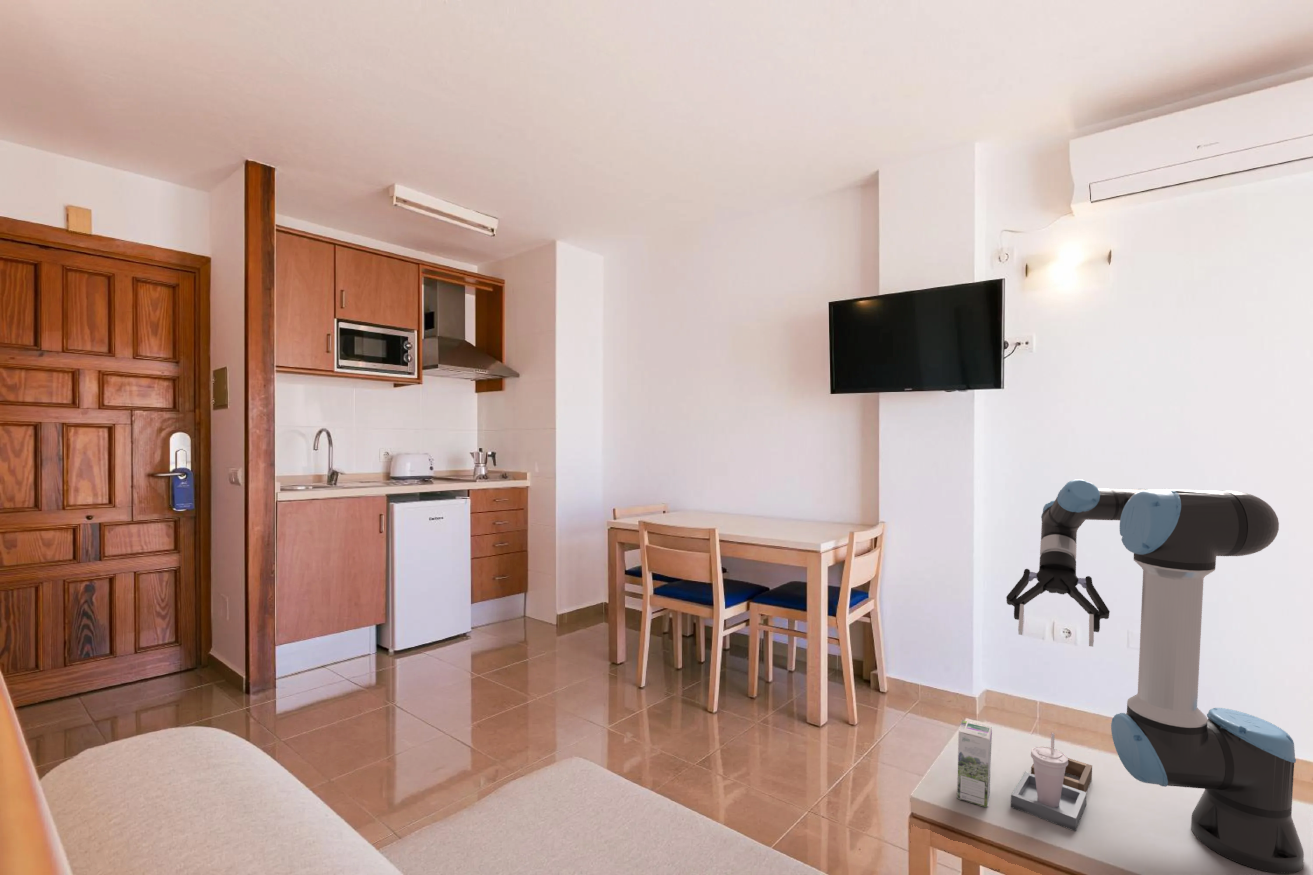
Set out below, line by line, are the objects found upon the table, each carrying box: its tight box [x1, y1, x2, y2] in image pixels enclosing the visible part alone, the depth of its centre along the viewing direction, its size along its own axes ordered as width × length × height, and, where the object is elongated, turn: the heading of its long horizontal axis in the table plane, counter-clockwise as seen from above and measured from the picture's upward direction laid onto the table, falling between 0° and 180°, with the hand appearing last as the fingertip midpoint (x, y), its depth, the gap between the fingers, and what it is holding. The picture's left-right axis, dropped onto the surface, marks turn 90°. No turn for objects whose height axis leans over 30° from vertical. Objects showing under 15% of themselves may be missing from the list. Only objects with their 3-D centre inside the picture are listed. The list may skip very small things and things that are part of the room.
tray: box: [1010, 771, 1088, 832], centre depth 129 cm, size 11×11×2 cm
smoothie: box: [1030, 732, 1069, 807], centre depth 129 cm, size 6×6×14 cm
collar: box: [1030, 757, 1093, 792], centre depth 138 cm, size 10×10×3 cm
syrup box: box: [956, 719, 993, 808], centre depth 132 cm, size 6×6×14 cm
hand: (1054, 637), depth 146 cm, fingers open, 13 cm apart
